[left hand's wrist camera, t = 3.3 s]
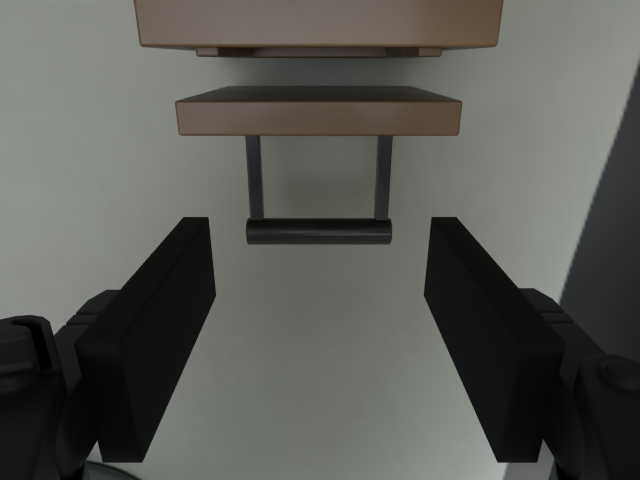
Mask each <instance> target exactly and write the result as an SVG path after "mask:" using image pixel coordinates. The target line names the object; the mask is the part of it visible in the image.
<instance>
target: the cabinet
mask: <svg viewBox="0 0 640 480" xmlns="http://www.w3.org/2000/svg"><path fill="white" fill-rule="evenodd" d="M134 6H135V13H136V20H137V27H138V35H139V42H140V45H141V46H142V47H150V48H163V49H176V50H190V51H196V48H442V51H448V50H461V49H475V48H488V47H495V46H497V43H498V36H499V29H500V21H501V14H502V7H503V0H134Z"/></svg>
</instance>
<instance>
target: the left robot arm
mask: <svg viewBox="0 0 640 480" xmlns="http://www.w3.org/2000/svg"><path fill="white" fill-rule="evenodd" d="M215 297H216V289H215V279H214V269H213V259H212V249H211V239H210V229H209V218H208V217H183V218H182V220H181V221H180V222H179V223H178V224H177V225H176V227H175V228H174V229H173V230H172V231H171V232H170V233H169V235H168V236H167V237H166V238H165V239H164V240H163V241H162V243H161V244H160V245H159V246H158V247H157V248H156V249H155V251H154V252H153V253H152V254H151V255H150V256H149V257H148V259H147V260H146V261H145V262H144V263H143V264H142V266H141V267H140V268H139V269H138V270H137V271H136V272H135V274H134V275H133V276H132V277H131V278H130V279H129V280H128V282H127V283H126V284H125V285H124V286H123V287H122V288H121V290H105V291H104V292H102V293H100V294H98V295H97V296H95V297H93V298H91V299H89V300H88V301H87V302H86V303H85V304H84V305H83V306H82V307H81V308H80V309H79V310H78V311H77V312H76V315H73V316H72V317H71V318H70V319H69V320H68V322H67V323H66V325H64V326H63V327H62V328H61V329H60V330H59V331H58V332H57V333H56V334H55V335H54V336H53V332H52V328H51V325H50V321H48V320H47V319H45V318H44V317H40V316H34V315H25V316H14V317H10V318H5V319H1V320H0V480H135V479H133V478H131V477H129V476H127V475H125V474H123V473H121V472H118V471H116V470H113V469H110V468H107V467H103V466H100V465H95V464H90V463H87V461H86V459H87V457H88V455H89V454H90V452H91V450H92V448H93V447H94V445H95V443H96V442H97V441H98V445H99V449H100V453H101V457H102V461H103V463H142V462H143V460H144V457H145V455H146V453H147V451H148V448H149V446H150V444H151V442H152V439H153V437H154V435H155V433H156V430H157V428H158V426H159V424H160V421H161V419H162V417H163V415H164V412H165V410H166V408H167V405H168V403H169V401H170V399H171V396H172V394H173V392H174V390H175V387H176V385H177V383H178V381H179V378H180V376H181V374H182V372H183V369H184V367H185V365H186V363H187V360H188V358H189V356H190V354H191V351H192V349H193V347H194V344H195V342H196V340H197V338H198V335H199V333H200V331H201V329H202V326H203V324H204V322H205V320H206V317H207V315H208V313H209V311H210V308H211V306H212V304H213V302H214V299H215ZM424 297H425V299H426V302H427V304H428V306H429V308H430V311H431V313H432V315H433V317H434V320H435V322H436V324H437V326H438V329H439V331H440V333H441V335H442V338H443V340H444V342H445V344H446V347H447V349H448V351H449V354H450V356H451V358H452V360H453V363H454V365H455V367H456V369H457V372H458V374H459V376H460V378H461V381H462V383H463V385H464V387H465V390H466V392H467V394H468V396H469V399H470V401H471V403H472V406H473V408H474V410H475V412H476V415H477V417H478V419H479V421H480V424H481V426H482V428H483V430H484V433H485V435H486V437H487V439H488V442H489V444H490V446H491V448H492V451H493V453H494V455H495V457H496V460H497V462H498V463H512V462H513V463H517V462H518V463H519V462H520V463H521V462H522V463H524V462H525V463H528V462H529V463H533V462H534V463H536V462H537V461H538V457H539V453H540V449H541V444H542V440H543V439H544V441H545V443H546V444H547V446H548V448H549V449H550V451H551V453H552V454H553V456H554V461H553V465H552V469H551V472H550V476H549V480H640V363H638V362H636V361H634V360H631V359H628V358H625V357H621V356H617V355H613V354H606V353H605V352H604V351H603V350H602V349H601V348H600V347H599V346H598V345H597V344H596V343H595V342H594V341H593V340H592V339H591V338H590V337H589V336H588V335H587V334H586V333H585V332H584V331H583V330H582V329H581V328H580V327H579V326H578V325H577V324H574V321H573V320H572V318H571V317H570V316H569V315H568V314H567V313H564V310H563V309H562V308H561V307H560V306H559V305H558V304H557V303H556V302H555V301H554V300H553V299H552V298H550V297H548V296H546V295H545V294H543V293H541V292H539V291H538V290H536V289H534V288H518V287H517V286H516V285H515V284H514V283H513V282H512V280H511V279H510V278H509V277H508V276H507V275H506V274H505V272H504V271H503V270H502V269H501V268H500V267H499V266H498V264H497V263H496V262H495V261H494V260H493V259H492V257H491V256H490V255H489V254H488V253H487V252H486V251H485V249H484V248H483V247H482V246H481V245H480V244H479V243H478V241H477V240H476V239H475V238H474V237H473V236H472V235H471V233H470V232H469V231H468V230H467V229H466V228H465V227H464V225H463V224H462V223H461V222H460V221H459V220H458V218H457V217H432V218H431V228H430V239H429V249H428V259H427V269H426V279H425V289H424Z"/></svg>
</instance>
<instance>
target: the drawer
mask: <svg viewBox="0 0 640 480" xmlns="http://www.w3.org/2000/svg"><path fill="white" fill-rule="evenodd" d="M441 54H442V48H196V55H197V56H199V57H232V58H407V57H439V56H441ZM175 106H176V114H177V123H178V132H179V135H181V136H245V137H246V153H247V170H248V186H249V202H250V218H248V220H247V224H246V239H247V243H248V244H330V245H389V244H390V243H391V240H392V222H391V219H390V218H388V205H389V188H390V172H391V155H392V139H393V136H457V135H458V134H459V128H460V119H461V110H462V101H459V100H456V99H453V98H449V97H446V96H442V95H439V94H435V93H432V92H428V91H425V90H422V89H418V88H415V87H411V86H227V87H224V88H220V89H217V90H213V91H210V92H206V93H203V94H199V95H196V96H192V97H189V98H185V99H181V100H178V101H176V102H175ZM260 136H378V144H377V165H376V185H375V206H374V217H375V218H264V203H263V183H262V163H261V143H260Z"/></svg>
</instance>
